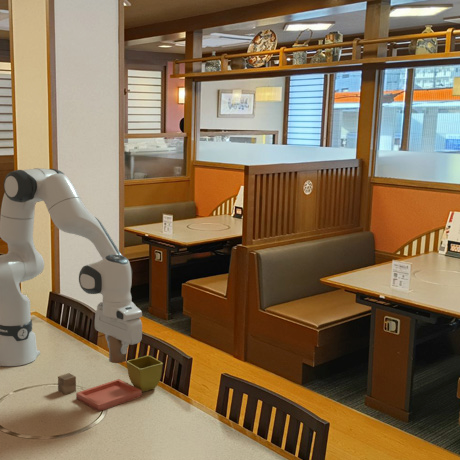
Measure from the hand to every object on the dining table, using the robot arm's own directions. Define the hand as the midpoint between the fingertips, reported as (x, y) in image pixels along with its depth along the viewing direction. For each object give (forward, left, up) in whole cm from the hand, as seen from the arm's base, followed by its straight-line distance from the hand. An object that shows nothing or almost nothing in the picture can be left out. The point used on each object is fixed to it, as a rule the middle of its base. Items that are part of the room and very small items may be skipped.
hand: (117, 350), depth 191 cm
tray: (0, -3, -15) cm, 15 cm away
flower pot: (+2, +9, -15) cm, 18 cm away
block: (-13, -10, -15) cm, 22 cm away
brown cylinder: (0, 0, -3) cm, 3 cm away
